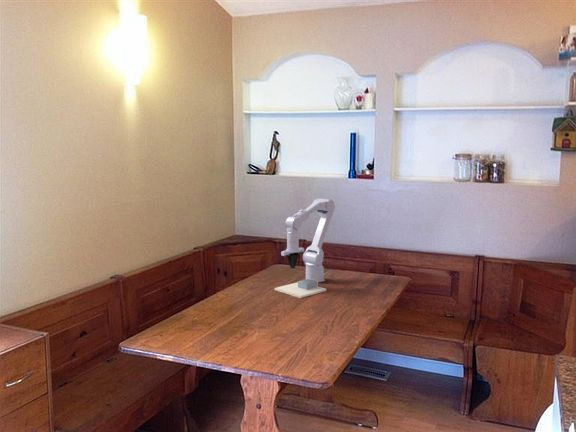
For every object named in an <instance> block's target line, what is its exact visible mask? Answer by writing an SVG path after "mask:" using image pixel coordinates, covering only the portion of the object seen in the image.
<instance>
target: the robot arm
mask: <svg viewBox="0 0 576 432" xmlns="http://www.w3.org/2000/svg"><path fill="white" fill-rule="evenodd" d="M335 208H336V205H335V202H334V199H329V198H328V199H327V198H320V197H316V198H315V199H313V202H312V203H311V204H310V205H309V206H308V207H306V208H305V209H299V211H297V213H295V214H293V215H292V216H288V217H287V218H286V220H285V222H284V227H285V231H286V235H287V236H286V237H287V238H286V248H285V249H284V250H283V251H281V252H280V255H281V256H283V257H285V256H286V258H287V260H288V264H289V267H290V268H291V269H296V266H297V262H298V260H299V258H300V256H301V255H300V253H303V254H302V261H303V262H304V265H305V279H312V280H316V281H318V283H322V282H325V281H326V279H325V277H324V275H325V267H324V265H323V261H324V254H325V252H324V251H323V249H322V247H323V244H324V242H325V238H326V234H327V232H328V230H329V226H330V223H331V220H332V216H333V213H334V211H335ZM314 213H317V216H319V217H320V218H319V222H318V224H317V227H316V230H315V233H314V236H313V239H312V242H311V245H309V246H307V248H306V250H305V248H304V247H300V245H299V244H300V243H299V242H300V239H299V238H300V229H301V228H302V225H303V224H304V223H305V222H306V221H307V220H309V218H310V216H311V215H312V214H314ZM305 279H303V280H305Z"/></svg>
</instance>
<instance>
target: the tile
mask: <svg viewBox="0 0 576 432" xmlns="http://www.w3.org/2000/svg"><path fill="white" fill-rule="evenodd" d="M274 291H277V292H280V293H283V294H287V295H289V296H292V297H295V298H299V299H303V298H306V297H310V296H313V295H314V296H315V295H317V294H319V293H323V292H327V288H325V287H321V286H318V287H315V288H312V289H308V290H305V289H302V288H299V287H298V281H297V282H294V283H288V284H286V285H282V286H278V287H274Z"/></svg>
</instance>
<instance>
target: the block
mask: <svg viewBox="0 0 576 432" xmlns="http://www.w3.org/2000/svg"><path fill="white" fill-rule="evenodd" d="M297 282H298V287H299V288H302V289H305V290H308V289H312V288H315V287H319V286H318V285H319V282H318V281H316V280H312V279H306V278H305V280H304V279H302V280H299V281H297Z"/></svg>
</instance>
